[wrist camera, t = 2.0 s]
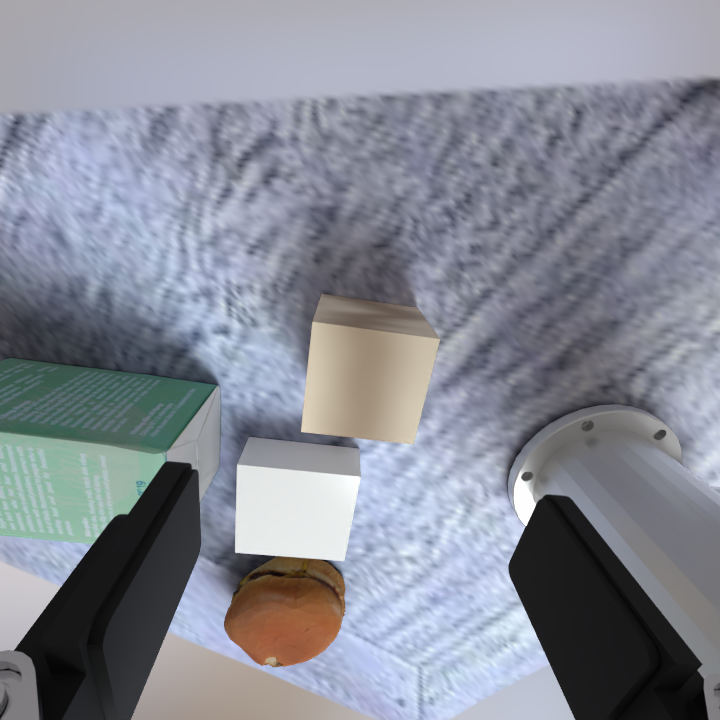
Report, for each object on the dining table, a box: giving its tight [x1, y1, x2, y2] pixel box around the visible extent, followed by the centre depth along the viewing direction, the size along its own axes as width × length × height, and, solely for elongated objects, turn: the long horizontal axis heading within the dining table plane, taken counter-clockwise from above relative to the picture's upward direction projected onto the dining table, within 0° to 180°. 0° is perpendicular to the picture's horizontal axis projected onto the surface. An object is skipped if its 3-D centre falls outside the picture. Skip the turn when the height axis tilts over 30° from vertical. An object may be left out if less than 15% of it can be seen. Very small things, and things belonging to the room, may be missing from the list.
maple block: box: [301, 294, 440, 444], centre depth 20 cm, size 6×6×6 cm
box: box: [0, 358, 221, 544], centre depth 21 cm, size 7×14×8 cm, turn 81°
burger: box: [224, 556, 345, 667], centre depth 30 cm, size 10×9×5 cm
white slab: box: [235, 437, 361, 561], centre depth 26 cm, size 8×8×3 cm
